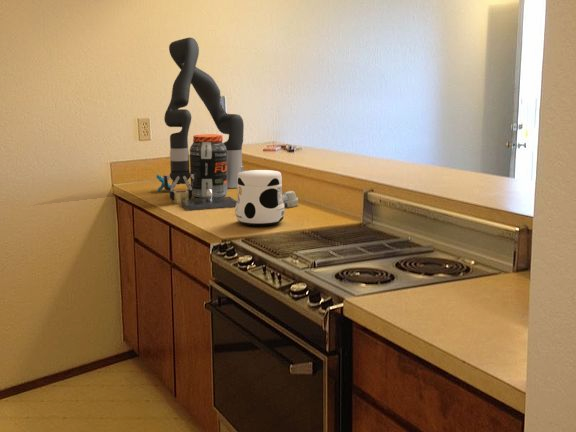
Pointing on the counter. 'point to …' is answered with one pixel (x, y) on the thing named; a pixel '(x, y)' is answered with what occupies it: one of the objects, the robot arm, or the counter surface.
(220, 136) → the supplement tub
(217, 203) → the post stand
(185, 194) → the brass hub
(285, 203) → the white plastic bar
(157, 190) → the gear
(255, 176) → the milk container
